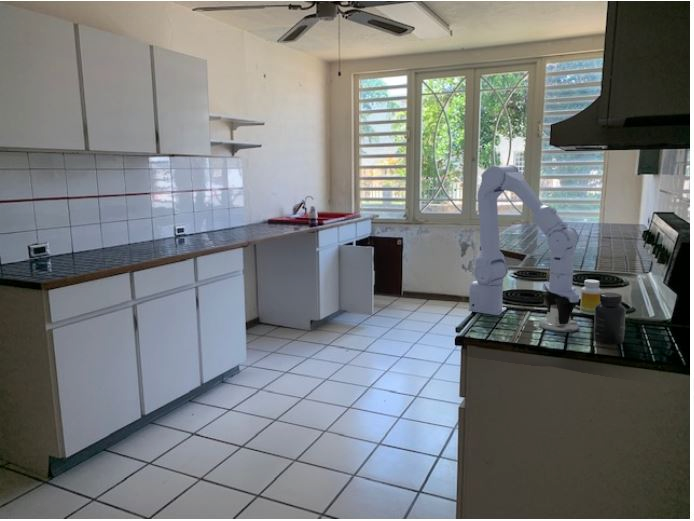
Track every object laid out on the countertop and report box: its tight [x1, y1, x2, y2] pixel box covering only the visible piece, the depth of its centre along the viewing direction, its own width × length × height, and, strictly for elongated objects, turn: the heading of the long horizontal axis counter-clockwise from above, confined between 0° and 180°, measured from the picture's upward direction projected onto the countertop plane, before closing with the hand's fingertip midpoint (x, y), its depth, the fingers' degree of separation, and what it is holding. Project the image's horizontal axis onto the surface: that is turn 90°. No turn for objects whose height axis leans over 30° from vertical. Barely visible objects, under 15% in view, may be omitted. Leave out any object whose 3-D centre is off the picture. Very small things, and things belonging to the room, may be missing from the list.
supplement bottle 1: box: [579, 279, 602, 316], centre depth 148 cm, size 5×5×10 cm
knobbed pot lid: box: [538, 317, 579, 333], centre depth 137 cm, size 10×10×3 cm
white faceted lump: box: [546, 305, 572, 326], centre depth 137 cm, size 5×4×5 cm
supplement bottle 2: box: [593, 291, 627, 345], centre depth 125 cm, size 7×7×12 cm
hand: (558, 320), depth 137 cm, fingers closed on white faceted lump, 4 cm apart
